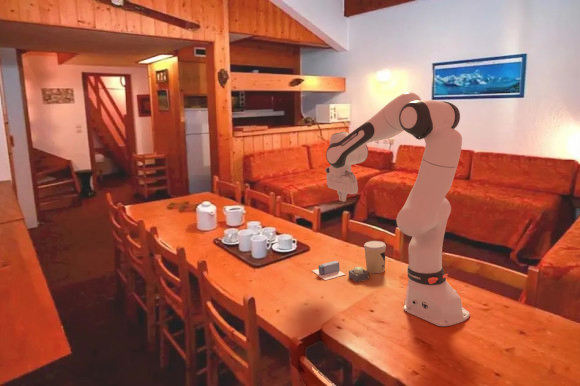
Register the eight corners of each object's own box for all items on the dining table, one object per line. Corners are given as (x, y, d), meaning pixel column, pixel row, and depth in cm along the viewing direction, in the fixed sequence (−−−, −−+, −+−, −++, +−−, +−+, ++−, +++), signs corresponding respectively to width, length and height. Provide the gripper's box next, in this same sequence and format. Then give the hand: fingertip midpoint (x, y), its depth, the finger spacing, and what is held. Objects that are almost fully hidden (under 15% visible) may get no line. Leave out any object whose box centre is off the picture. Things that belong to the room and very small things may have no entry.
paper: (345, 274, 175) (345, 274, 175) (325, 280, 171) (325, 279, 171) (331, 266, 185) (331, 265, 185) (312, 271, 182) (312, 270, 181)
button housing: (368, 278, 169) (368, 272, 168) (356, 282, 167) (356, 275, 166) (360, 274, 174) (360, 267, 174) (348, 277, 172) (348, 270, 171)
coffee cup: (386, 274, 172) (386, 247, 170) (364, 274, 174) (363, 247, 172) (386, 265, 181) (385, 240, 178) (365, 265, 183) (364, 240, 180)
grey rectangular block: (336, 268, 181) (335, 260, 180) (339, 270, 179) (339, 262, 178) (318, 273, 178) (318, 265, 177) (321, 275, 175) (321, 267, 174)
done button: (365, 277, 169) (364, 269, 169) (357, 280, 168) (357, 271, 167) (359, 274, 173) (359, 266, 172) (352, 276, 171) (352, 268, 171)
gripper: (360, 171, 166) (362, 204, 168) (335, 166, 184) (337, 196, 187) (347, 173, 163) (349, 206, 166) (323, 168, 181) (325, 198, 184)
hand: (342, 200), depth 176 cm, fingers closed
